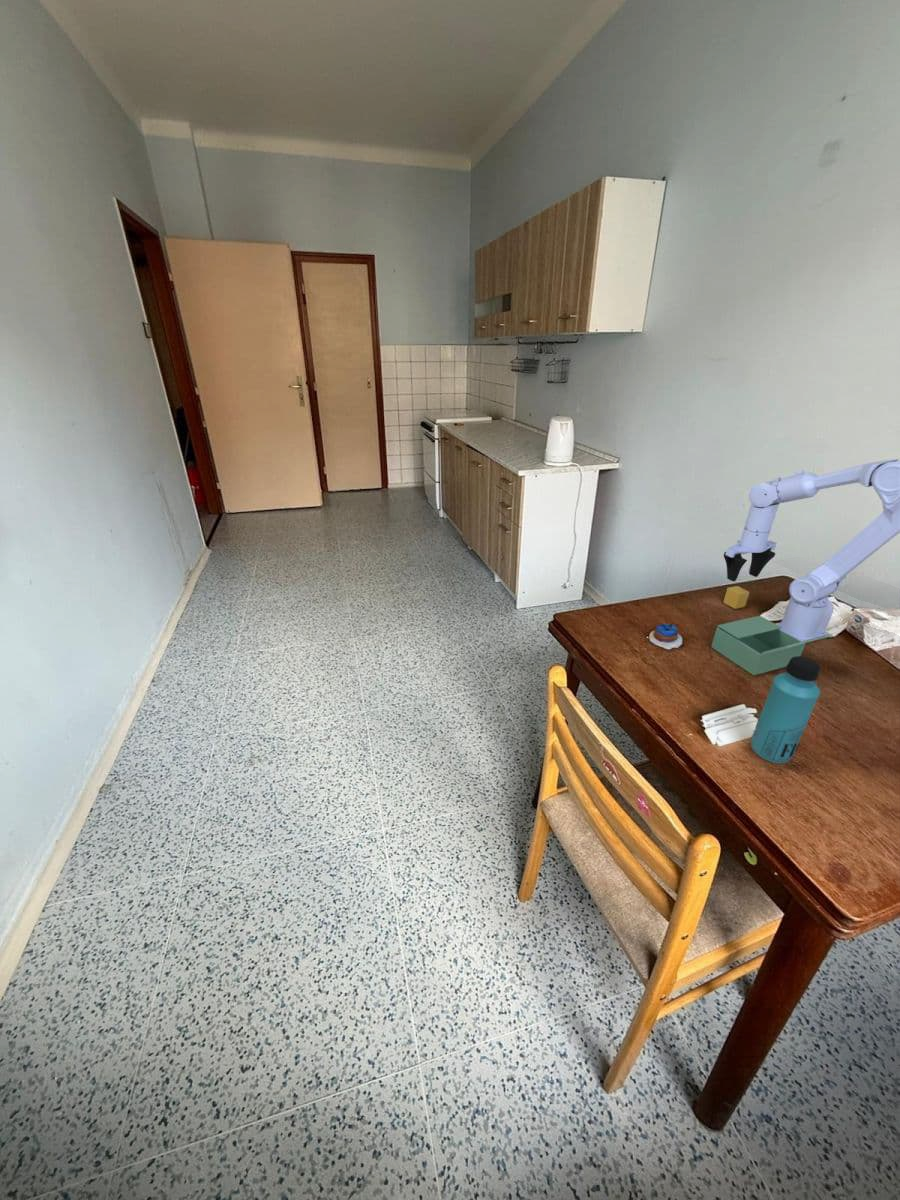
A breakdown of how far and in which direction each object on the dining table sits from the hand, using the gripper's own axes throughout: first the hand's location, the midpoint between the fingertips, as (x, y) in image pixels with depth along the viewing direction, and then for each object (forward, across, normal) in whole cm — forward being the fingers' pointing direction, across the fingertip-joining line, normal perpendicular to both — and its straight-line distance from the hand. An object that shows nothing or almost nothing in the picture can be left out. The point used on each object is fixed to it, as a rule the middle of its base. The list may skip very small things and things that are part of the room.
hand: (742, 577), depth 126 cm
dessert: (+8, +30, +8) cm, 32 cm away
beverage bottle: (+8, +39, +44) cm, 59 cm away
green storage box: (+8, +16, +20) cm, 27 cm away
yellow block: (+8, 0, 0) cm, 8 cm away
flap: (0, +16, +28) cm, 32 cm away
